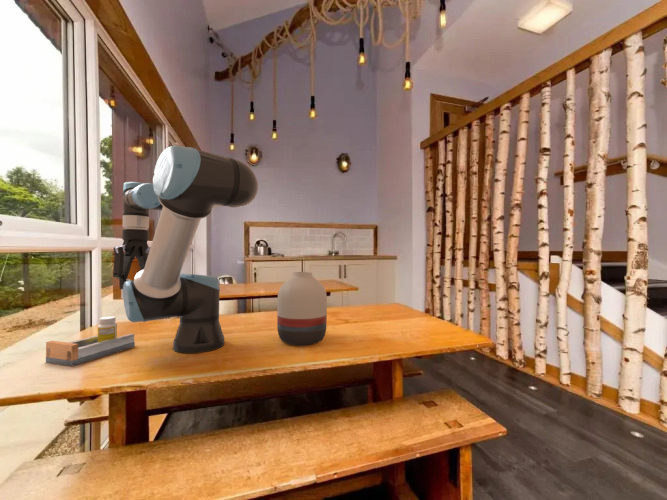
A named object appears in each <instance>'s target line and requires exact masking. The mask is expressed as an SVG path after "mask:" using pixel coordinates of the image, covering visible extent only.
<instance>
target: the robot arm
mask: <svg viewBox="0 0 667 500" xmlns="http://www.w3.org/2000/svg"><path fill="white" fill-rule="evenodd" d="M153 174H154V175H153V177H152V183H151V182H150V183H149V182H145V183H143V182H138V181H126V182H124V183H123V188H122V189H123V190H122V193H121V194H122V228H123V229H122V232H121V233H122V235H121V239H122V241H123V243H122V245H120V246H114V247H113V248H112V249H113V253H114V259H113V271H112V276H113V278H116V279H117V280H119V290H120V294H121V295H120V299H121V300H123V305H124V310H125V316H126V318H127V319H128V321H130V322H131V323H137V322H138V323H139V322H144V323H145V322H149V321H150V322H151V321H157V320H161V319H162V320H164V319H170V318H176V317H179V325H178V328H177V330H176V332H175V333H176V334H175V338H174V339H173V343H172V349H173V351H174V352H177V353H181V354H197V353H205V352H210V351H215V350H218V349H220V348H221V347H223V346H224V345H225V335H224V334H223V333H224V332H223V329H222V325H221V323H220V291H221V290H220V288H221V287H220V280H219V278H218V277H217V276H214V275H205V274H196V273H194V274H192V273H181V271H182V269H183V266H184V263H185V262H186V258H187V255H188V253H189V251H190V247H191V245H192V243H193V241H194V238H195V236H196V233H197V230H198V228H199V225H200V222H201V221H202V219H205V218H207V217H209V215H210V214H211V212H212V209H216V208H219V207H220V208H221V207H228V208H239V207H244V206H247V205H249V204H251V203H252V202H253V200H255V198H256V196H257V194H258V190H259V183H258V179H257V176H256V174H255V173H254V171H253V170H252V168H250V166H249V165H247V164H246V163H245V162H243V161H241V160H239V159H236V158H232V157H231V158H230V157H227V156H224V155H220V154H215V153H212V152H208V151H204V150H200V149H197V148H195V147H190V146H188V147H187V146H181V145H176V144H175V145H171V146H169V147H166V148H165V149H164V150H163V151H162V152H161V153H160V155H159V157H158V159H157V160H156V164H155V167H154V170H153ZM150 210H151V211H161V212H160V216H159V219H158V222H157V225H156V227H155V228H156V229H155V233H154V235H153V239H152V242H151V245H150V246H149V244H148V241H149V240H150V231H149V228H150ZM135 258H136V260H137V261H138V265H139V268H140V270H139V271H138V272H136V274H135V276H134V278H133V280H132V279H130V278H128V277H129V274H130V271H131V267H132V265H133V261H134V260H135Z"/></svg>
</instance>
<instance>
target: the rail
mask: <svg viewBox="0 0 667 500" xmlns="http://www.w3.org/2000/svg"><path fill="white" fill-rule="evenodd" d="M135 345H136V341H135V333H128V334H123V335H121V336H117V337H116V338H113V339H109V340H105V341H101V342H98V334H96V335H92V336H88V337H84V338H81V339H77V340H76V339H75V340H73V341H69V342H66V341H59V340H58V341H57V340H50V341H45V363H47V364H53V365H58V366H59V365H60V366H66V367H74V366H77V365H82V364H85V363H88V362H91V361H95V360H97V359H100V358H103V357H106V356H109V355H112V354H116V353H119V352H122V351H125V350H129V349H132V348H135V347H136V346H135Z"/></svg>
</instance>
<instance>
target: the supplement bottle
mask: <svg viewBox="0 0 667 500" xmlns="http://www.w3.org/2000/svg"><path fill="white" fill-rule="evenodd" d="M98 322H99V324H98V325H97V335H98V342H101V341H105V340H109V339H113V338H116V337H118V323H116V316H104V317H103V316H102V317H100V318H99V320H98Z"/></svg>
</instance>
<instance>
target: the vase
mask: <svg viewBox="0 0 667 500" xmlns="http://www.w3.org/2000/svg"><path fill="white" fill-rule="evenodd" d="M278 289H279V290H278V292H277V293H278V294H277V309H276V311H277V312H276V313H277V320H276V321H277V322H276V323H277V326H276V329H277V333H278V337H279V340H280V341H281V342H283V344H284V343H285V344H286V345H287V344H288V345H290V346H296V347H297V346H298V347H299V346H300V347H301V346H304V347H305V346H312V345H315V344H318V343H320V342H321V341H323V340H324V338H325V335H326V332H327V324H328V323H327V317H328V316H327V314H328V313H327V312H328V311H327V310H328V307H327V306H328V305H327V304H328V303H327V302H328V299H327V291H326V288H325V286H324V285H323V283H321V282H320V281H319V280H318V279H317V278H315V276H314V275H313V273H312V272H311V271H294V272H292V276H291V277H290V278H288V279H287V280H285V282H284V283H283V284H282V285H281V286H280V287H279V288H278Z"/></svg>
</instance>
